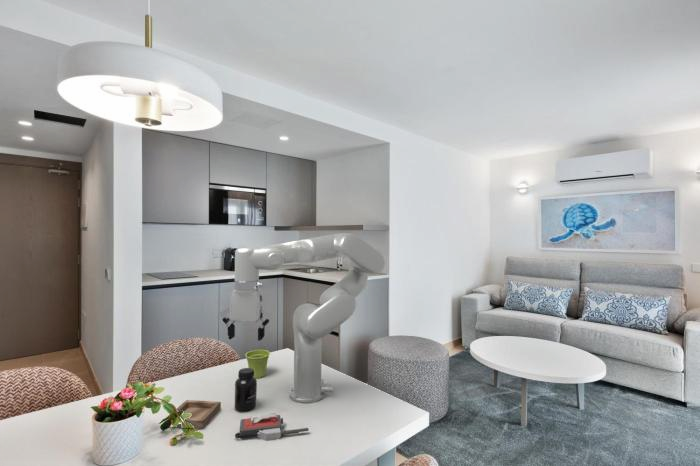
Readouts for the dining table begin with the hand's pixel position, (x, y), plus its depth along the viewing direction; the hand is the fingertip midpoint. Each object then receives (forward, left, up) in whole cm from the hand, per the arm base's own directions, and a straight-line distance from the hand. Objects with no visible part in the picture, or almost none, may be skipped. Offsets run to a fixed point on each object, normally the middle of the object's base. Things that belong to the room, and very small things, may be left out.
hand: (246, 338), depth 114 cm
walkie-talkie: (-13, +12, -23) cm, 29 cm away
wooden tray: (+13, +8, -22) cm, 27 cm away
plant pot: (+5, -25, -22) cm, 34 cm away
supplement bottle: (0, 0, -22) cm, 23 cm away
